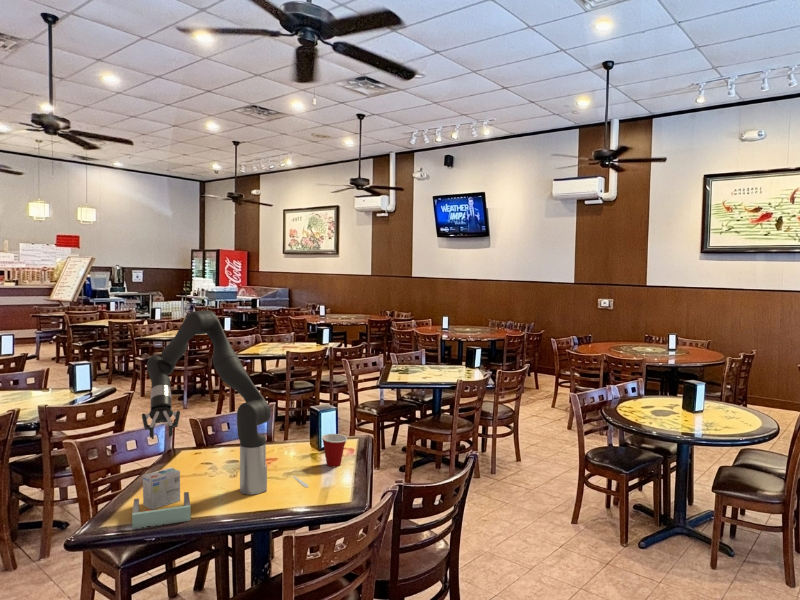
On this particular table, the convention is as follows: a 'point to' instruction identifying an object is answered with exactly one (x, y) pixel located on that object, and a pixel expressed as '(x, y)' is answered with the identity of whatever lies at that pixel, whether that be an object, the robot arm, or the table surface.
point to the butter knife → (301, 482)
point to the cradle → (161, 514)
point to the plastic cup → (333, 448)
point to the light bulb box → (161, 488)
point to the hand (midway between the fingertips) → (161, 437)
